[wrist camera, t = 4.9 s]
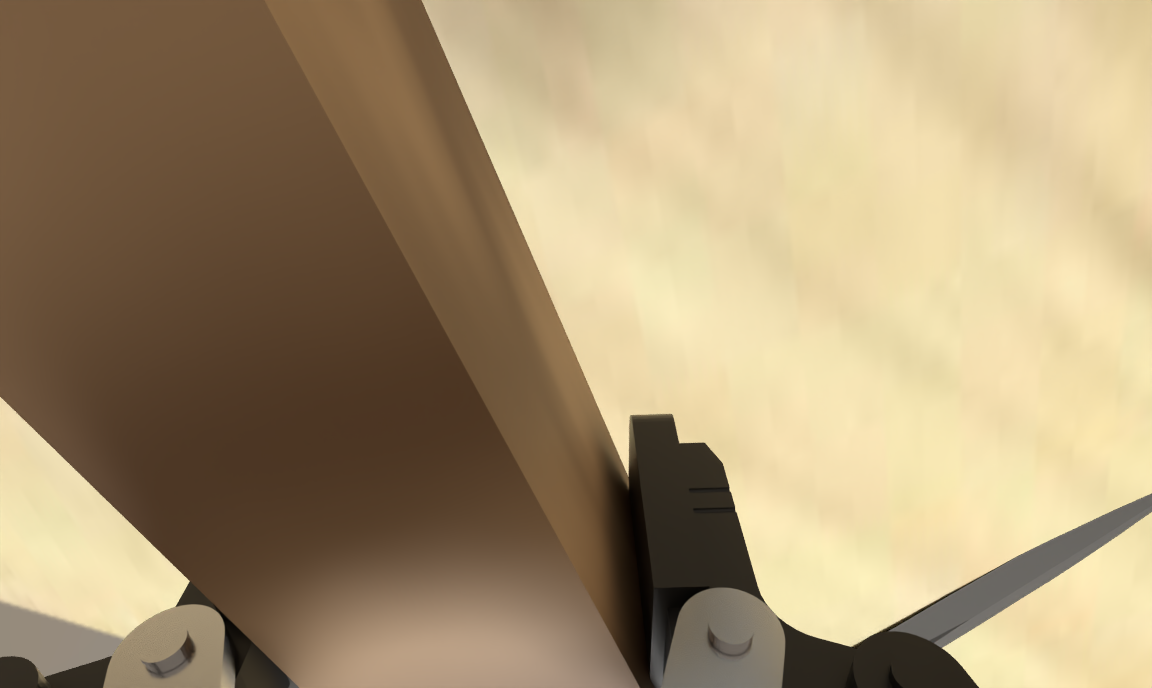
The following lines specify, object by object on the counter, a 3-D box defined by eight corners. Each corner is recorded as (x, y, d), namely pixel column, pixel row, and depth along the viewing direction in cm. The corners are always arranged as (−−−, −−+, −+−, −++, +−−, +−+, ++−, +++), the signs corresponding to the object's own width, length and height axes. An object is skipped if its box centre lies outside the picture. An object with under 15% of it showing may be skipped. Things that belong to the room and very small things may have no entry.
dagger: (1339, 529, 38) (1369, 553, 36) (715, 774, 52) (720, 799, 50) (1301, 401, 33) (1335, 424, 31) (621, 712, 46) (623, 737, 45)
